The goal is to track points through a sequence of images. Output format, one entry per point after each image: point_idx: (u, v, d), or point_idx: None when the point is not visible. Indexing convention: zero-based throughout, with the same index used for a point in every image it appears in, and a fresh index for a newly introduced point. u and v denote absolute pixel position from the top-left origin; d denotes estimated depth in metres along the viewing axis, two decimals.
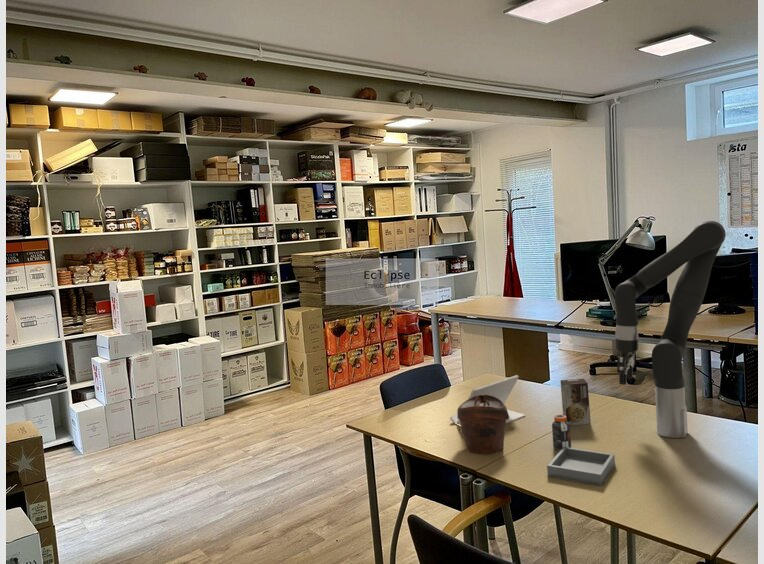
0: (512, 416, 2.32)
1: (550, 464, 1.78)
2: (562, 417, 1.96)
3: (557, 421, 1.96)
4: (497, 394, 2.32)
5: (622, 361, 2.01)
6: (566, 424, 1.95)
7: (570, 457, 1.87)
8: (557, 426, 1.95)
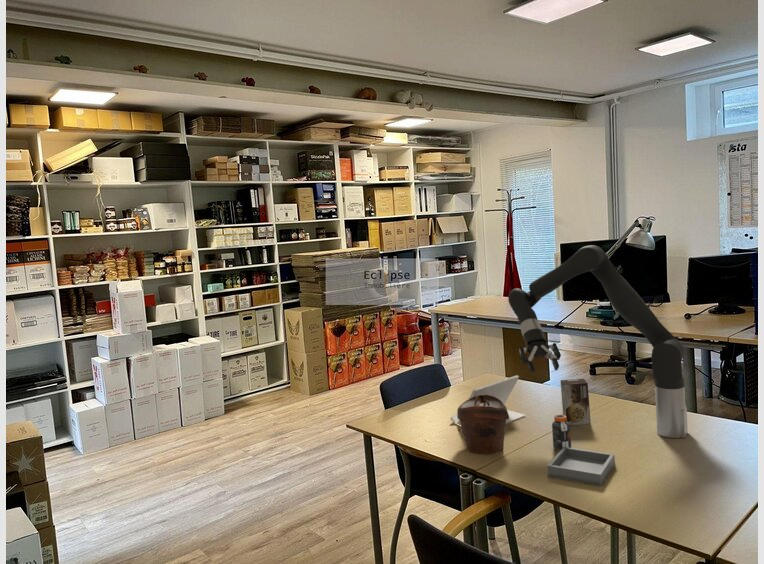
0: (512, 416, 2.32)
1: (550, 464, 1.78)
2: (562, 417, 1.96)
3: (557, 421, 1.96)
4: (497, 394, 2.32)
5: (520, 351, 2.12)
6: (566, 424, 1.95)
7: (570, 457, 1.87)
8: (557, 426, 1.95)
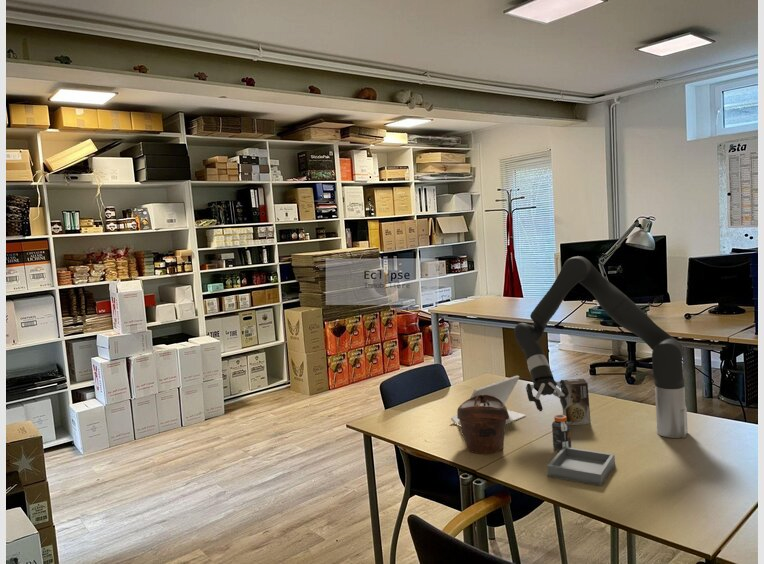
0: (513, 416, 2.31)
1: (550, 464, 1.78)
2: (562, 417, 1.96)
3: (557, 421, 1.96)
4: (498, 394, 2.31)
5: (527, 388, 2.08)
6: (566, 424, 1.95)
7: (570, 457, 1.87)
8: (557, 426, 1.95)
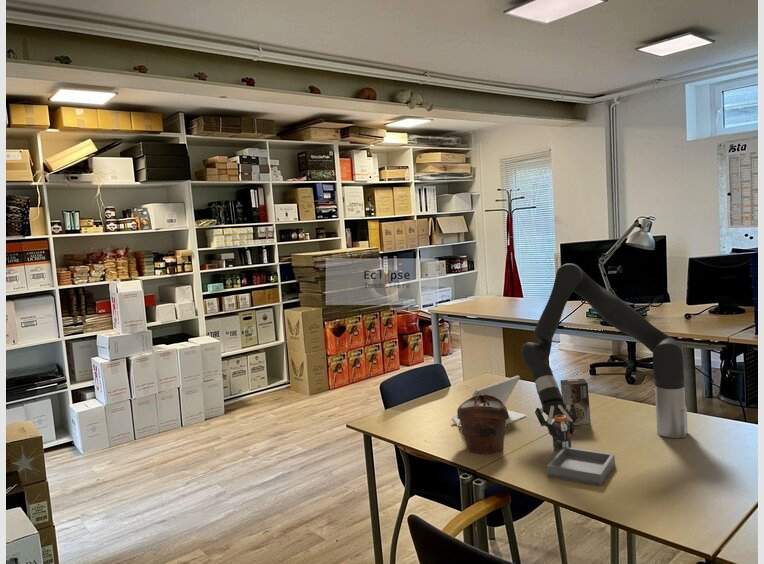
0: (513, 416, 2.31)
1: (550, 464, 1.78)
2: (562, 417, 1.96)
3: (557, 421, 1.96)
4: (498, 395, 2.31)
5: (537, 413, 2.01)
6: (566, 424, 1.95)
7: (570, 457, 1.87)
8: (557, 426, 1.95)
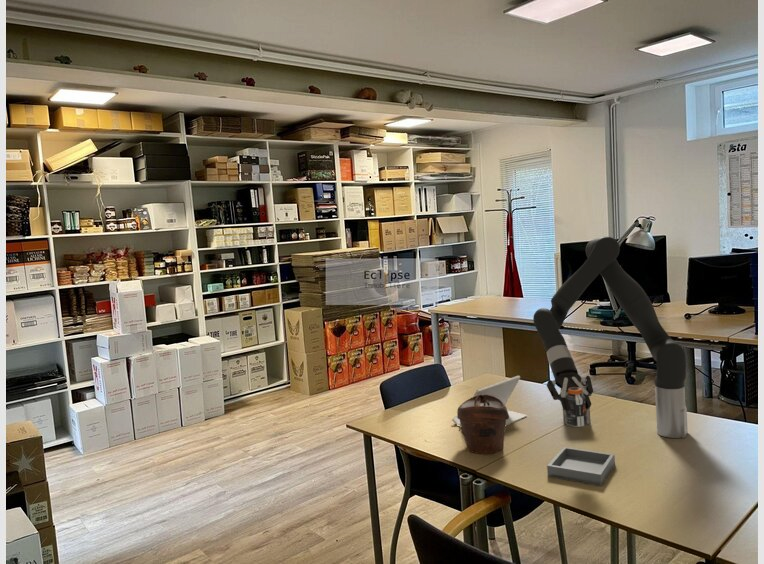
0: (514, 417, 2.31)
1: (550, 464, 1.78)
2: (577, 389, 1.77)
3: (571, 394, 1.77)
4: (499, 395, 2.31)
5: (549, 385, 1.82)
6: (581, 397, 1.76)
7: (570, 457, 1.87)
8: (571, 399, 1.76)
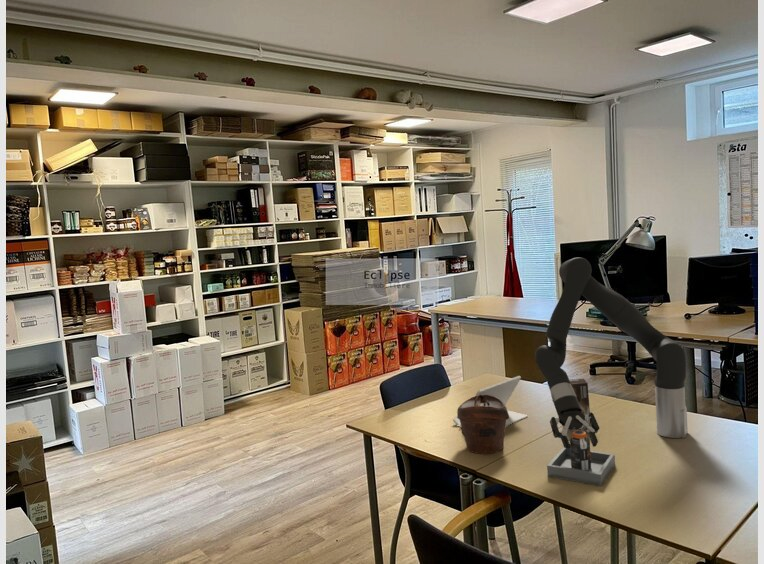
0: (515, 417, 2.31)
1: (550, 464, 1.78)
2: (581, 433, 1.77)
3: (576, 438, 1.77)
4: (500, 395, 2.30)
5: (551, 422, 1.82)
6: (586, 441, 1.77)
7: (570, 457, 1.87)
8: (575, 443, 1.77)
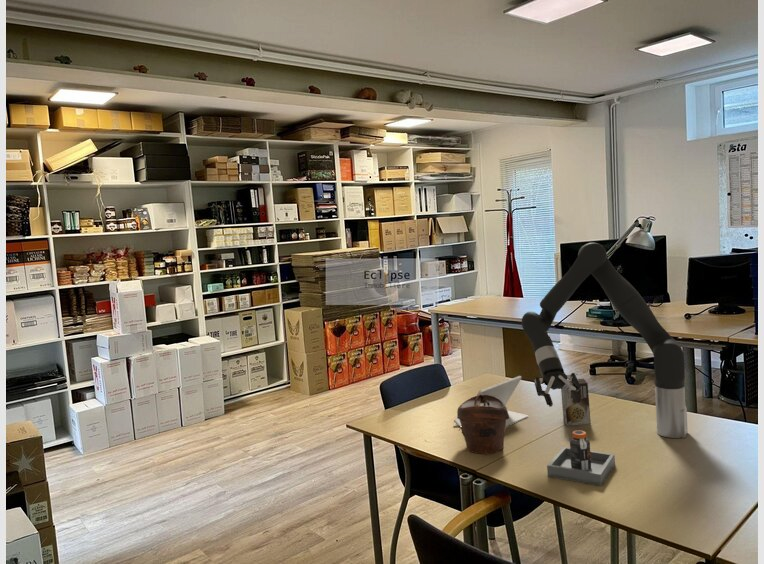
0: (515, 417, 2.30)
1: (550, 464, 1.78)
2: (581, 433, 1.77)
3: (576, 438, 1.77)
4: (500, 395, 2.30)
5: (535, 382, 1.94)
6: (586, 441, 1.77)
7: (570, 457, 1.87)
8: (575, 443, 1.77)
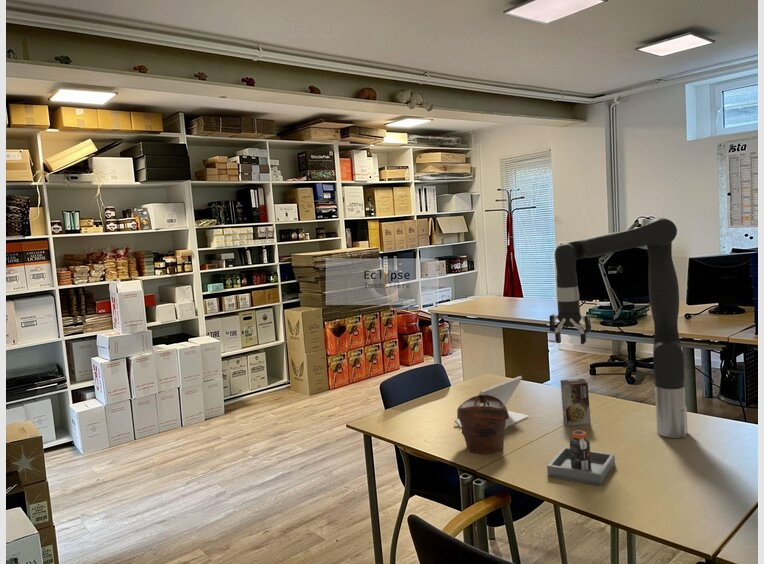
0: (516, 417, 2.30)
1: (550, 464, 1.78)
2: (581, 433, 1.77)
3: (575, 438, 1.77)
4: (501, 395, 2.30)
5: None
6: (585, 441, 1.77)
7: (570, 457, 1.87)
8: (575, 443, 1.77)
